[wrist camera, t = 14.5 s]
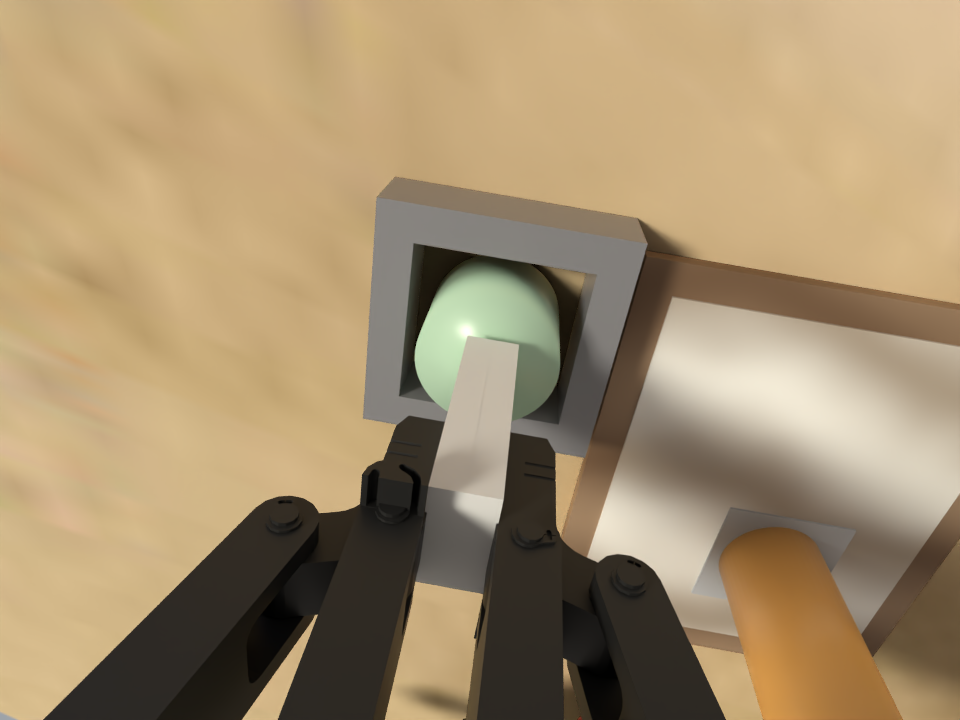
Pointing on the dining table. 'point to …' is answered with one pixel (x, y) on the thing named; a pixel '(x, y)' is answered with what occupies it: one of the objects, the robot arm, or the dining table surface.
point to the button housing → (508, 235)
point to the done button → (492, 328)
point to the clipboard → (775, 437)
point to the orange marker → (799, 632)
